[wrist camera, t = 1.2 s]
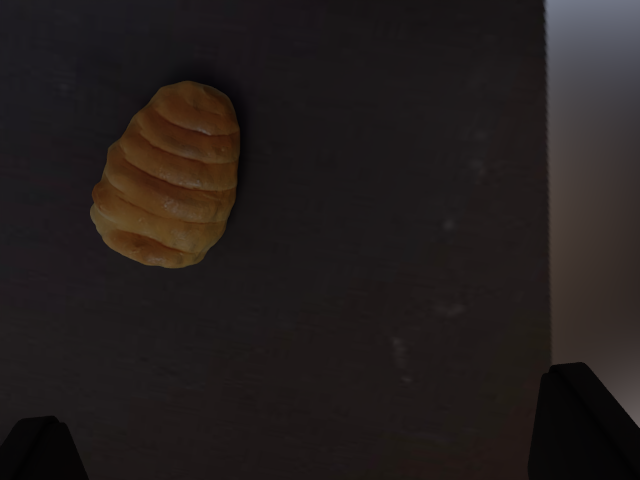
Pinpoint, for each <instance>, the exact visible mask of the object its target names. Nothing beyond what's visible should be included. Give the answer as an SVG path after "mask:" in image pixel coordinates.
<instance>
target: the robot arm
mask: <svg viewBox="0 0 640 480" xmlns="http://www.w3.org/2000/svg"><path fill="white" fill-rule="evenodd" d="M528 476H529V480H640V428H639V427H638V426H637V425H636V424H635V422H634V421H633V420H632V419H631V417H630V416H629V415H628V414H627V412H625V410H624V409H623V408H622V406H621V405H620V404H619V403H618V402H617V400H616V399H615V398H614V397H613V396H612V394H611V393H610V392H609V391H608V390H607V389H606V387H605V386H604V385H603V384H602V382H601V381H600V380H599V379H598V377H597V376H596V375H595V374H594V373H593V372H592V370H591V369H590V368H589V367H588V366H587V365H586V364H585V363H582V362H577V363H568V364H558V365H552V366H551V367H550V369H549V372H548V373H545V374H543V375H542V377H541V383H540V389H539V396H538V402H537V409H536V415H535V422H534V428H533V435H532V441H531V448H530V455H529V461H528ZM0 480H89V478H88V476H87V473H86V471H85V468H84V466H83V464H82V461H81V459H80V456H79V454H78V451H77V449H76V446H75V444H74V441H73V439H72V436H71V434H70V431H69V429H68V427H67V425H66V424H65V423H59V421H58V419H57V418H56V417H55V416H44V417H35V418H25V419H21V420H19V421H18V422H17V423H16V424H15V426H14V427H13V429H12V430H11V432H10V433H9V435H8V437H7V438H6V440H5V441H4V443H3V444H2V446H1V447H0Z"/></svg>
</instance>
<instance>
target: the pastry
mask: <svg viewBox="0 0 640 480" xmlns="http://www.w3.org/2000/svg"><path fill="white" fill-rule="evenodd" d="M239 154H240V128H239V125H238V121H237V118H236V114H235V110H234V107H233V105H232V103H231V101H230V99H229V98H228V96H227V95H226V94H224V93H222V92H220V91H219V90H217V89H216V88H213V87H211V86H208V85H204V84H199V83H197V82H193V81H183V82H179V83H176V84H172V85H168V86H164V87H161V88H160V89H159V90H158V91H157V93H156V94H155V95H154V96H153V97H152V98H151V100H150V102H149V103H148V104H147V105H146V106H145V107H144V108H142V109H141V110H140V111H139V112H138V113H136V114H135V115H134V116H133V118H132V120H131V121H130V123H129V125H128V127H127V129H126V131H125V132H124V133H123V136H122V137H121V138H120V139H119V140H117V141H116V142H114V143H113V144H112V145H111V146H110V147H109V148H108V154H107V164H106V166H105V168H104V172H103V175H102V179H101V181H100V182H99V183H98V184H96V185H95V187H94V189H93V191H92V197H93V200H94V204H93V205H92V207H91V209H90V215H91V218H92V220H93V222H94V224H96V229H97V231H98V232H99V233H100V234H101V235H102V238H103V240H104V242H105V243H106V244H107V245H108V246H109V247H110V248H112V249H113V250H115V251H117V252H119V253H121V254H122V255H124V256H127V257H129V258H131V259H133V260H136V261H138V262H141V263H143V264H145V265H152V266H153V265H158V266H163V267H165V268H180V267H185V266H188V265H193V264H196V263H198V262H200V261H201V260H202V259H203V258H204V256H205V254H206V252H207V251H208V250H209V248H210V247H212V246H213V245H214V244H215V243H216V242H217V241H218V240H219V239H220V238H221V236H222V235H223V233H224V231H225V229H226V223H227V219H228V217H229V215H230V211H231V209H232V207H233V205H234V203H235V199H236V187H237V169H238V162H239V160H238V159H239Z"/></svg>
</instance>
